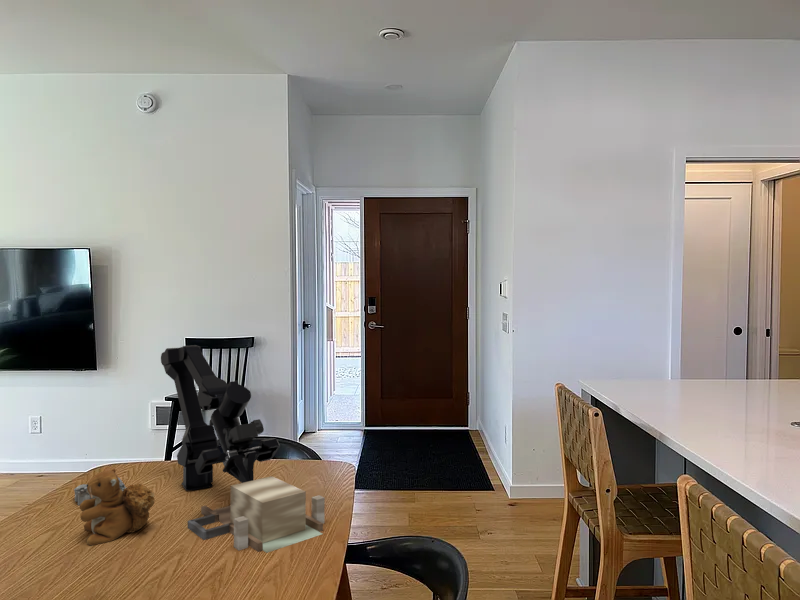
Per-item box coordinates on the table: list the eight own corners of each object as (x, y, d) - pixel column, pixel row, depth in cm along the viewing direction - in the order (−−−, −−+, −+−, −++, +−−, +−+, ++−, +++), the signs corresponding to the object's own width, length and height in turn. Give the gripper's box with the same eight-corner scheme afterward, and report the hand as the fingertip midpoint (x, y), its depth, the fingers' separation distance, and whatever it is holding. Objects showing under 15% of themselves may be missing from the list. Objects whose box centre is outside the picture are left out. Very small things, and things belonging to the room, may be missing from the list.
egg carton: (77, 508, 132) (77, 491, 132) (72, 499, 138) (72, 482, 138) (127, 499, 138) (127, 482, 138) (120, 490, 144) (120, 474, 144)
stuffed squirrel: (81, 529, 120) (81, 467, 120) (153, 518, 126) (154, 459, 126) (76, 548, 111) (77, 481, 111) (155, 535, 117) (155, 472, 117)
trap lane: (176, 521, 124) (176, 494, 124) (280, 494, 141) (281, 470, 141) (234, 566, 104) (235, 533, 103) (348, 527, 121) (348, 499, 121)
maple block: (230, 522, 122) (230, 485, 122) (271, 511, 129) (271, 476, 129) (262, 543, 112) (262, 502, 112) (305, 529, 119) (305, 491, 119)
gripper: (200, 414, 124) (223, 476, 115) (276, 404, 136) (301, 459, 128) (186, 444, 129) (206, 505, 121) (259, 431, 142) (282, 486, 134)
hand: (251, 487), depth 126 cm, fingers closed
